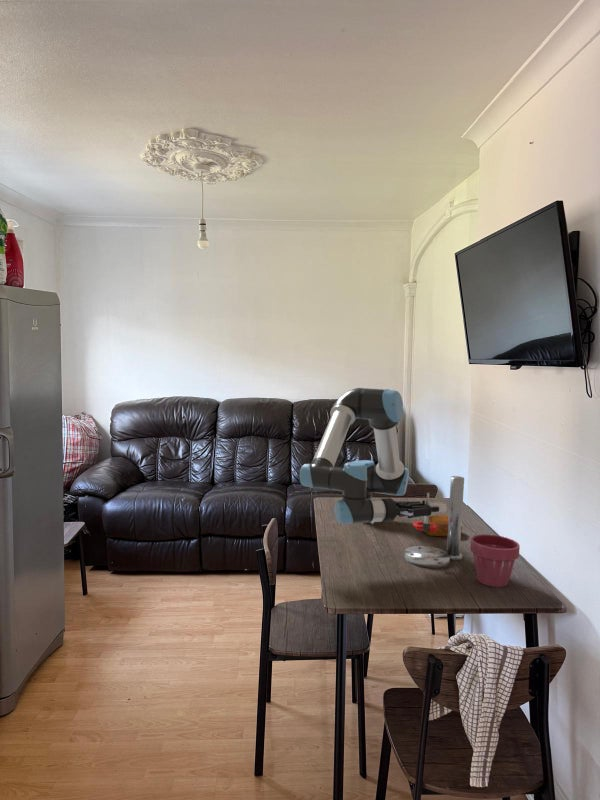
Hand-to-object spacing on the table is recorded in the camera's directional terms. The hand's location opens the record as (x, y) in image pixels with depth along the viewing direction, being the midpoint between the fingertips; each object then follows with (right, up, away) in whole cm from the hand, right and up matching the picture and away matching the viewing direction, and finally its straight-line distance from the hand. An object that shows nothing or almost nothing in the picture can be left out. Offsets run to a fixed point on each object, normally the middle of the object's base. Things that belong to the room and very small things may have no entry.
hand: (444, 507), depth 192 cm
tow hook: (-6, -8, +2) cm, 10 cm away
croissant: (+6, -16, +31) cm, 35 cm away
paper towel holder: (-3, -18, +1) cm, 18 cm away
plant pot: (+11, -20, -17) cm, 28 cm away
